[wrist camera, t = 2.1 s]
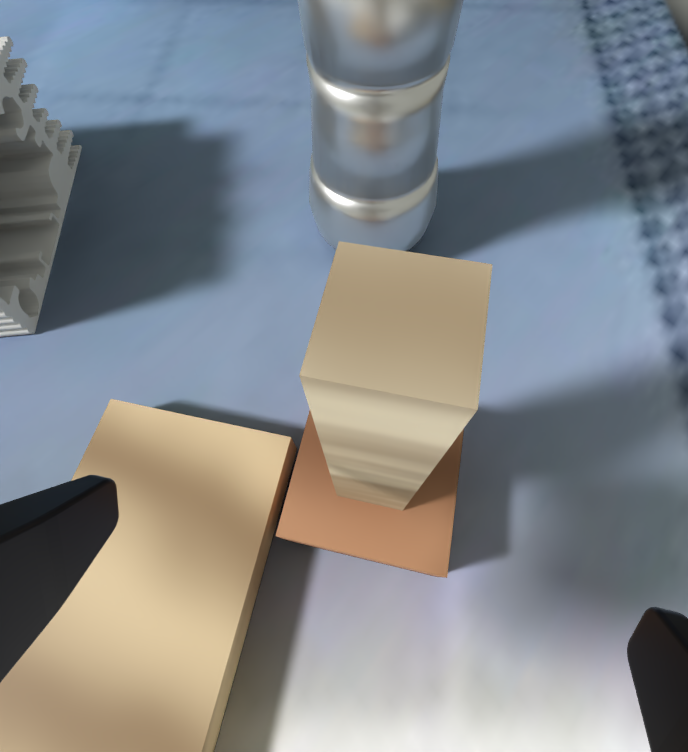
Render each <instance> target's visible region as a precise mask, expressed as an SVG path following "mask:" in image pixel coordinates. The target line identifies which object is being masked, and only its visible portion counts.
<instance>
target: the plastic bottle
mask: <svg viewBox="0 0 688 752" xmlns="http://www.w3.org/2000/svg"><path fill="white" fill-rule="evenodd" d="M462 4H463V0H298V6H299V13H300V19H301V26H302V33H303V40H304V46H305V49H306V52H307V67H308V74H309V80H310V87H311V121H312V155H311V162H310V171H309V203H310V206H311V210H312V213H313V216H314V219H315V222H316V225H317V227H318V230H319V232H320V233H321V235H322V237H323V238H324V239H325V241H326V242H327V243H328V244H329V245H330V246H332V247H333V248H334V249H337V246H338V242H339V241H341V242H348V243H354V244H361V245H367V246H374V247H381V248H387V249H394V250H400V251H407V250H409V249H411V248H412V247H413V246H414V245H415V244H416V243H417V242H418V241H420V239H421V238H422V236H423V235H424V233H425V231H426V229H427V227H428V224H429V222H430V220H431V217H432V215H433V213H434V210H435V207H436V202H437V187H438V159H437V147H438V137H439V127H440V117H441V107H442V98H443V88H444V84H445V80H446V75H447V71H448V67H449V62H450V52H451V50H452V47H453V44H454V40H455V36H456V31H457V27H458V22H459V18H460V13H461V9H462Z"/></svg>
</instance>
